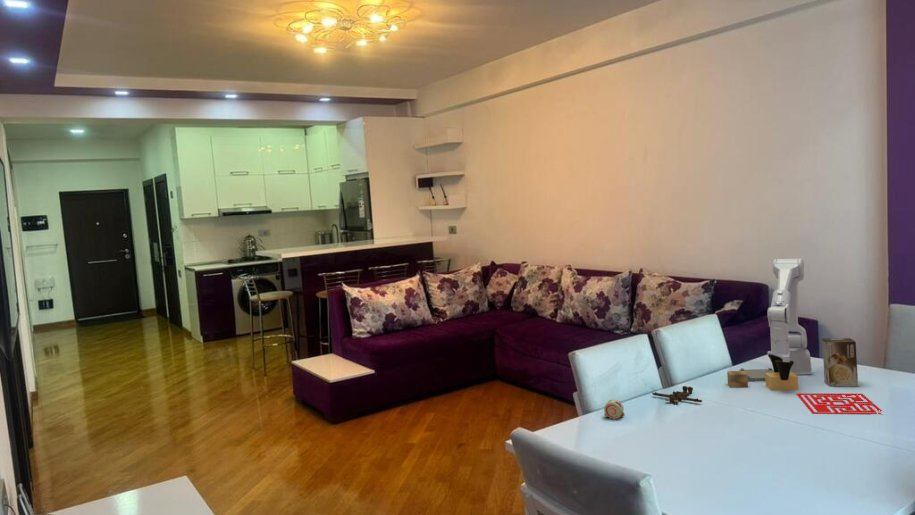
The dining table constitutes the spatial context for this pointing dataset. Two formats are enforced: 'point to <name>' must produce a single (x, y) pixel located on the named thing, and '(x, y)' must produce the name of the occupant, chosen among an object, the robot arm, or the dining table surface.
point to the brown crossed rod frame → (679, 395)
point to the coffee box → (840, 362)
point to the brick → (781, 381)
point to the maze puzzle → (823, 409)
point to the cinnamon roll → (614, 409)
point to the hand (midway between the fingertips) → (781, 377)
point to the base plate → (757, 374)
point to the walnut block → (737, 379)
